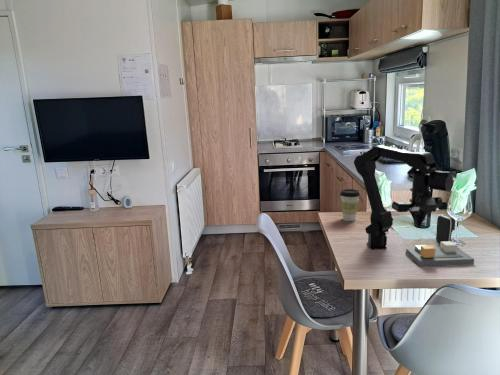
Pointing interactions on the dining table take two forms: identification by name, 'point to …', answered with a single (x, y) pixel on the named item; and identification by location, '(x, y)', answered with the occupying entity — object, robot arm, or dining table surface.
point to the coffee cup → (349, 203)
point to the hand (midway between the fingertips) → (417, 227)
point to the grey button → (418, 248)
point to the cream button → (447, 246)
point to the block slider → (427, 251)
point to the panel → (441, 257)
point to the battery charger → (445, 228)
